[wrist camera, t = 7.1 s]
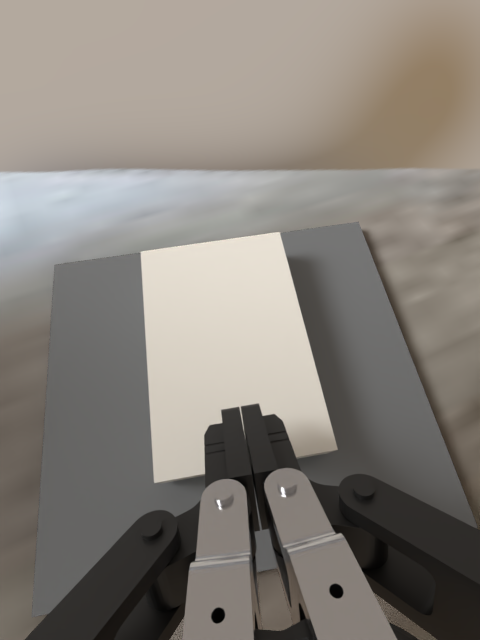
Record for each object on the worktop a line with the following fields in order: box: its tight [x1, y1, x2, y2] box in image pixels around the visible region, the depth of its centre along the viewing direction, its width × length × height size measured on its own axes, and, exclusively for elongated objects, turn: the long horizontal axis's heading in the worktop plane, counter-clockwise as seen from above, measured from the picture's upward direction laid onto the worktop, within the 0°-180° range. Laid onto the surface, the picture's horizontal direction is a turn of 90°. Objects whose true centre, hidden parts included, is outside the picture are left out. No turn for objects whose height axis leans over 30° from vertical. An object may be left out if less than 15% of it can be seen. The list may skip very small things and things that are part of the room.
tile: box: [141, 232, 338, 483], centre depth 19 cm, size 8×2×12 cm
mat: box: [32, 222, 478, 617], centre depth 20 cm, size 20×18×1 cm
